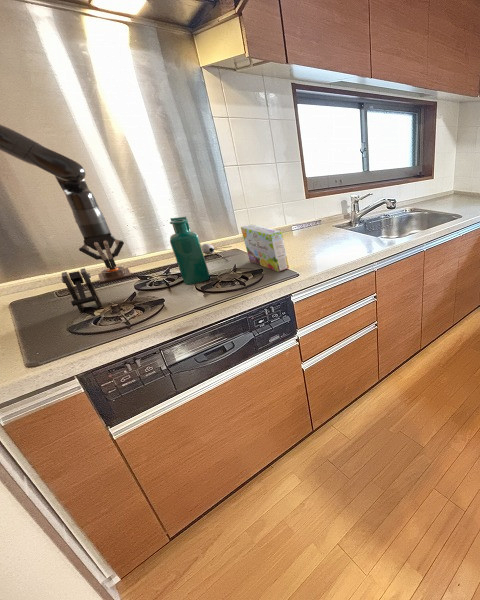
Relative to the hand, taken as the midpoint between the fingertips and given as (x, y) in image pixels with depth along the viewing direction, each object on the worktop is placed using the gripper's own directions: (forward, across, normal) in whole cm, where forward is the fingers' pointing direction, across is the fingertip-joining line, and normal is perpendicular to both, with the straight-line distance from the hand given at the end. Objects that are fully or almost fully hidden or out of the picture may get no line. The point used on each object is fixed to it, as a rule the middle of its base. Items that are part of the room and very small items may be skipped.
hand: (112, 268), depth 119 cm
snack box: (+5, -47, +27) cm, 54 cm away
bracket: (+4, +8, +28) cm, 30 cm away
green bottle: (+5, -22, +22) cm, 31 cm away
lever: (-4, +8, +32) cm, 33 cm away
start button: (+2, 0, 0) cm, 2 cm away
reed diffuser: (+5, -34, 0) cm, 34 cm away
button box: (+4, 0, 0) cm, 4 cm away
